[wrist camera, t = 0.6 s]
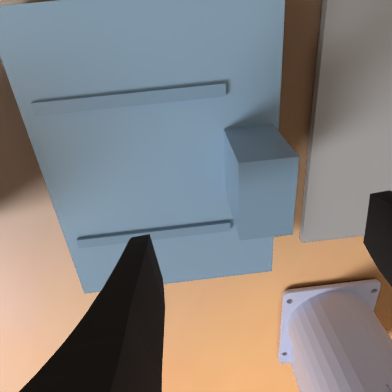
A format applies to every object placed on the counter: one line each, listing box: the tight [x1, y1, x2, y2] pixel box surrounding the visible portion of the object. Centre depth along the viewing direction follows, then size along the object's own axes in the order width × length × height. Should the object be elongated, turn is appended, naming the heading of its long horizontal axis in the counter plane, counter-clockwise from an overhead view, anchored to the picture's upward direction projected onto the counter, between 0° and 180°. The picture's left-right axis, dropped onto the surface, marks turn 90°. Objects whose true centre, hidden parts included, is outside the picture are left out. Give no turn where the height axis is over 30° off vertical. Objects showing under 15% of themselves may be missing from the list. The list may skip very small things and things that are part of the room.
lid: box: [0, 0, 299, 293], centre depth 17 cm, size 16×12×5 cm
